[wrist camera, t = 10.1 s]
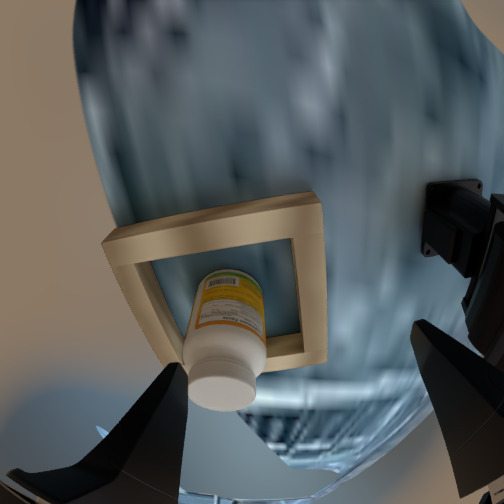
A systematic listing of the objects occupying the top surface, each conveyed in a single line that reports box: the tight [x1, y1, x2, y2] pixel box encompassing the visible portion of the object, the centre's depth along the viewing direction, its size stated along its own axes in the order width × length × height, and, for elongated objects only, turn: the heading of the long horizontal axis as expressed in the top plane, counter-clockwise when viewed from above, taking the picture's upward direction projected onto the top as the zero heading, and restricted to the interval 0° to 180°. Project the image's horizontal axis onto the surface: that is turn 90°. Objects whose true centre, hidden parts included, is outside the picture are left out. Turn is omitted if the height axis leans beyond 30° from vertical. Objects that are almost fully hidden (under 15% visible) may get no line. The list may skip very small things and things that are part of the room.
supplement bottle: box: [183, 269, 266, 411], centre depth 19 cm, size 5×5×10 cm
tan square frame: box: [101, 191, 327, 375], centre depth 22 cm, size 15×15×2 cm
